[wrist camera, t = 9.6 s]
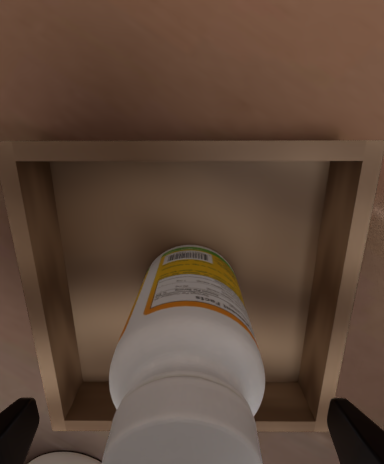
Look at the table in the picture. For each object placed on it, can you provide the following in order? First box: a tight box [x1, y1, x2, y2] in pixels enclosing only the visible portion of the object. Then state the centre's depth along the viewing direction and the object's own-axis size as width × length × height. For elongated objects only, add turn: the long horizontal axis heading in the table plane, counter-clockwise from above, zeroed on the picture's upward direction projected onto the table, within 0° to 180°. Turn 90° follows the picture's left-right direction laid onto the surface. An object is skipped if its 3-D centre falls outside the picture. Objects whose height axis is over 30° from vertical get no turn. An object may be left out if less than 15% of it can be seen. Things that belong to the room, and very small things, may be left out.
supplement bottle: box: [102, 245, 265, 464], centre depth 11 cm, size 5×5×10 cm
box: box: [0, 140, 384, 432], centre depth 15 cm, size 16×16×4 cm
